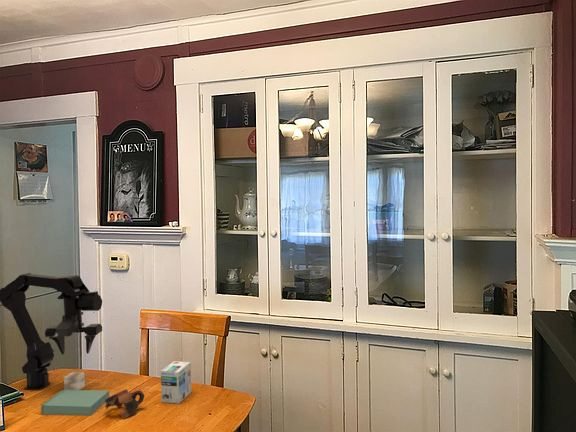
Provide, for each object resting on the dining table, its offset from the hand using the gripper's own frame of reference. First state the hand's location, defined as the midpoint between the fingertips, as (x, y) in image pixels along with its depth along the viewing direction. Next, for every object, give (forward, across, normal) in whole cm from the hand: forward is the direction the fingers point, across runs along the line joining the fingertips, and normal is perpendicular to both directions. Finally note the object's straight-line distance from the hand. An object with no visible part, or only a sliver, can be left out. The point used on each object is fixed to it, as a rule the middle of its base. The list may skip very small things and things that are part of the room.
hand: (75, 353), depth 178 cm
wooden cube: (+13, -1, +1) cm, 13 cm away
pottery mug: (+14, +25, -19) cm, 34 cm away
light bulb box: (+14, +38, -7) cm, 42 cm away
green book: (+13, +7, -15) cm, 21 cm away
